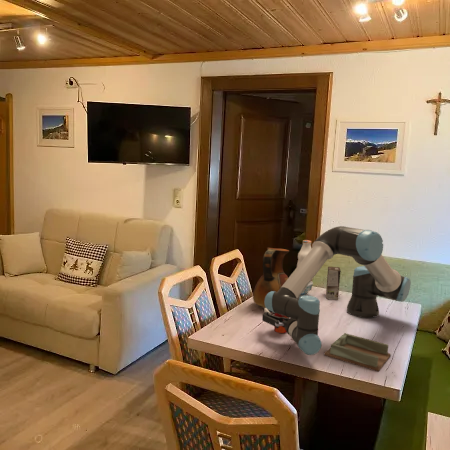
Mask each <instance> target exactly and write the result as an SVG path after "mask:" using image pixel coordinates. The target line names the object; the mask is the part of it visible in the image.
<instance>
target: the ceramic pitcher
mask: <svg viewBox="0 0 450 450" xmlns="http://www.w3.org/2000/svg"><path fill="white" fill-rule="evenodd" d="M266 249H267V250H266V251H265V252H264V254H263V257H262V272H263V274H262V275H261V276H260V277H259V279H258V280H257V282H256V284H255V287H254V289H253V292H252V300H253V303H254V304H256V305H257V306H259V307H262V308H263V309H264V308H266V307H265V303H264V301H265V297H266V295H267V294H268V293H269V292H271V291H276V292H278V290H279V289H280V288H281V287H282V286H283V284H284V283H285V282H286V281H287V279H288V278H289V277H288V275H287V274H286V273H285V272H284V269H283V262H284V259H285V256H286V255H287V254H288V253H289V252H290V250H289V249H284V248H273V247H266Z"/></svg>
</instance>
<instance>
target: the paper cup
mask: <svg viewBox="0 0 450 450" xmlns="http://www.w3.org/2000/svg"><path fill="white" fill-rule="evenodd" d="M273 313H274V312H273ZM273 315H274V316H278V317H285V318H289V317H287V316H283V315H280V314H277V313H274V314H273ZM283 321H284V319H283ZM273 327H274V328H273V329H274V332H276V333H279V334H286V333H287V332H286V330H285V328H284V327H282V326H279V328H276V327H275V326H273Z"/></svg>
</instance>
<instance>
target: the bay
mask: <svg viewBox="0 0 450 450" xmlns="http://www.w3.org/2000/svg"><path fill="white" fill-rule="evenodd" d="M323 355H324V356H326V357H329V358H333V359H336V360H340V361H342V362H346V363H350V364H353V365H356V366H359V367H362V368H366V369H369V370H372V371H376V372H379V371H380V370H381V369H382V368H383V367H384V365H385V364H386V362H387V361H388V360H389V358H390V357H391V353H389V344H388V343H384V342H380V341H376V340H371V339H368V338H364V337H361V336H358V335H353V334H349V333H347V332H344V333H343V334H342V335H341V336H340V337H338V338H337V339H335V341H334V342H333V343H331V344H330V348H328V349H327V350H325V352H324V354H323Z"/></svg>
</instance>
